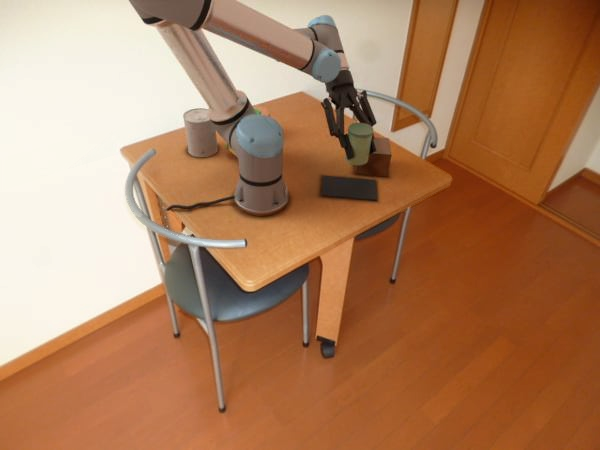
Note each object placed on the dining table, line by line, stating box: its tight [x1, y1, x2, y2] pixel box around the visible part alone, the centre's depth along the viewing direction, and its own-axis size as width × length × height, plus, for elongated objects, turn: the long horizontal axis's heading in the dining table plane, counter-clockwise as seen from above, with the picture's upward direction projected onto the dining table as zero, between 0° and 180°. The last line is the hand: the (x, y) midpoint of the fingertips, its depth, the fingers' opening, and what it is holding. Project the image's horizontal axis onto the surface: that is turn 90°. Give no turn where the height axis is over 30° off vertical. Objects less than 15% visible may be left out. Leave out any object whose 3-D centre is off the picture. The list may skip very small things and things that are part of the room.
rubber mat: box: [321, 175, 378, 202], centre depth 125 cm, size 16×10×1 cm, turn 86°
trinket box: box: [252, 105, 271, 117], centre depth 145 cm, size 11×11×9 cm
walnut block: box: [354, 136, 393, 177], centre depth 132 cm, size 10×10×8 cm
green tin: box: [344, 122, 374, 166], centre depth 114 cm, size 7×7×10 cm
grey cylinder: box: [182, 107, 219, 158], centre depth 134 cm, size 10×10×12 cm
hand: (362, 155), depth 114 cm, fingers closed on green tin, 6 cm apart
